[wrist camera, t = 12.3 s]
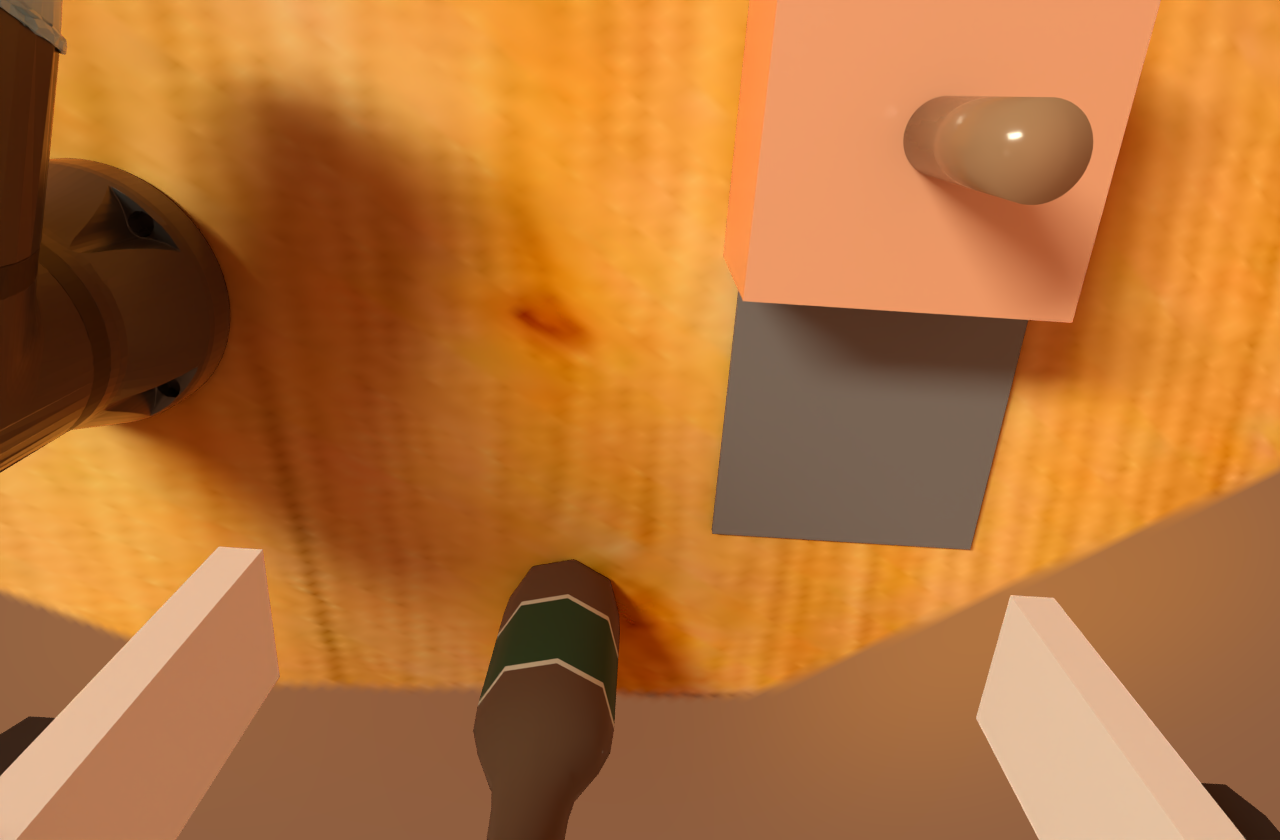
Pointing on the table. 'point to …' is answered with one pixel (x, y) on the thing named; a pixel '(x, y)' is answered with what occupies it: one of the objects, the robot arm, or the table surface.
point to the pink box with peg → (929, 151)
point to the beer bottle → (548, 699)
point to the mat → (861, 423)
